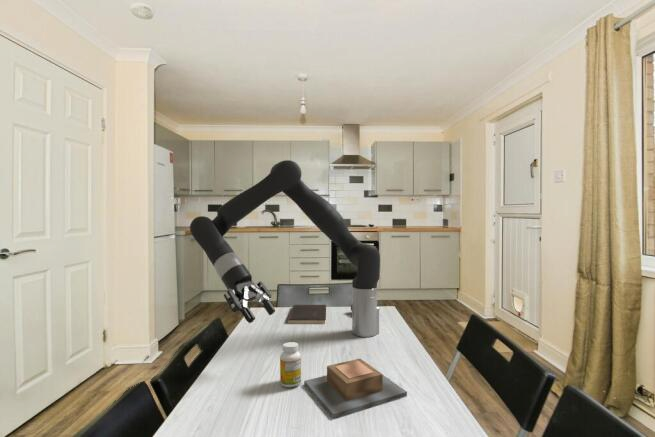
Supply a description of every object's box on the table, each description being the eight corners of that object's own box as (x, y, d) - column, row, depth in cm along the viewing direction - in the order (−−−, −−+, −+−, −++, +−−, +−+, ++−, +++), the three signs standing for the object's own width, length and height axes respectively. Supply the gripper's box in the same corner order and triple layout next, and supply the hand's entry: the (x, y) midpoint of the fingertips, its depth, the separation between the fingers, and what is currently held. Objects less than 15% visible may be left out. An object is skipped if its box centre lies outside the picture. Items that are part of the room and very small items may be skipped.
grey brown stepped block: (369, 368, 92) (369, 350, 92) (406, 395, 78) (406, 374, 78) (304, 384, 83) (304, 364, 83) (333, 418, 69) (333, 394, 69)
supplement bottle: (281, 378, 86) (281, 341, 87) (301, 378, 86) (301, 341, 87) (279, 388, 81) (278, 347, 82) (300, 387, 81) (300, 347, 82)
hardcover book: (326, 309, 155) (326, 304, 155) (325, 325, 132) (325, 319, 132) (292, 309, 155) (292, 304, 155) (286, 325, 132) (286, 319, 132)
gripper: (220, 266, 87) (253, 315, 82) (256, 260, 100) (286, 302, 94) (206, 284, 90) (237, 332, 84) (242, 276, 102) (271, 318, 97)
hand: (263, 317), depth 89 cm, fingers open, 8 cm apart
